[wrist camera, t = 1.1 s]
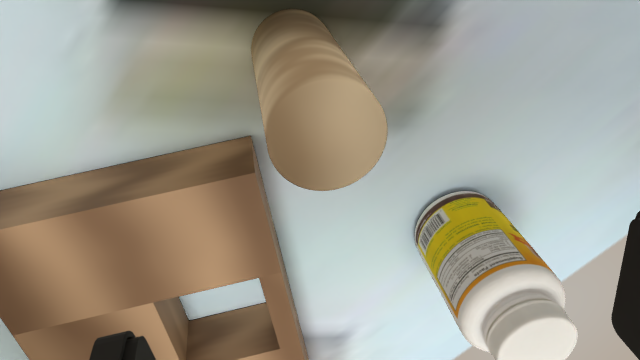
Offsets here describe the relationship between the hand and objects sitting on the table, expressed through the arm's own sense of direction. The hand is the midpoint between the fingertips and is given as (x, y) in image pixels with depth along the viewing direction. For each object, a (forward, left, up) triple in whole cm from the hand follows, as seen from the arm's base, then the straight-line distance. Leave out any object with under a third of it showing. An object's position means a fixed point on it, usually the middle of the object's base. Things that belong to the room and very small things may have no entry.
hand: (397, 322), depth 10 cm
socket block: (+10, +13, -18) cm, 24 cm away
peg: (0, 0, -18) cm, 18 cm away
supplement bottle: (-8, +13, -18) cm, 24 cm away
